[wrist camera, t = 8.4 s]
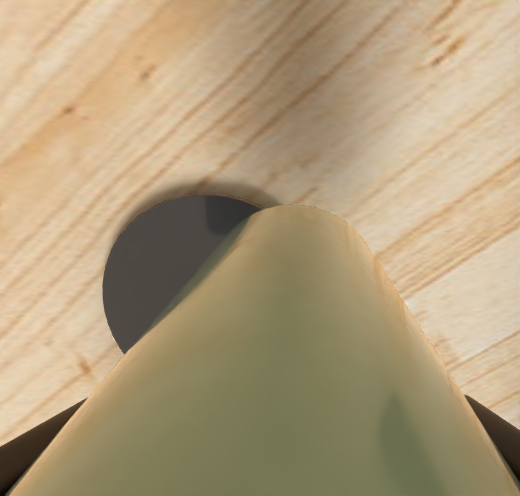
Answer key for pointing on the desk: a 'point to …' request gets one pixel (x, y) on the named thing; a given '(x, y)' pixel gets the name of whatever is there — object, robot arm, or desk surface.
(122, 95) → the desk surface
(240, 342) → the cup
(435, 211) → the desk surface
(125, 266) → the coaster
